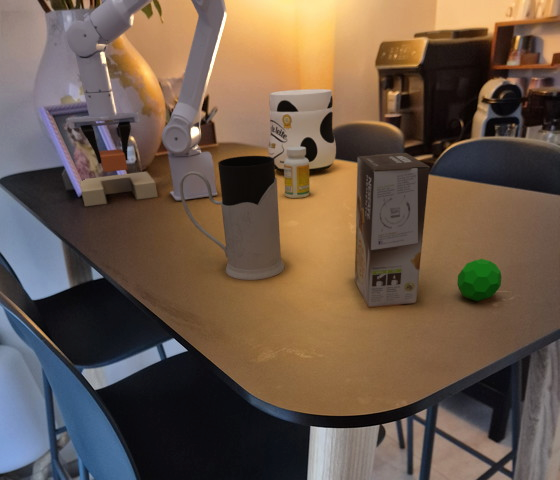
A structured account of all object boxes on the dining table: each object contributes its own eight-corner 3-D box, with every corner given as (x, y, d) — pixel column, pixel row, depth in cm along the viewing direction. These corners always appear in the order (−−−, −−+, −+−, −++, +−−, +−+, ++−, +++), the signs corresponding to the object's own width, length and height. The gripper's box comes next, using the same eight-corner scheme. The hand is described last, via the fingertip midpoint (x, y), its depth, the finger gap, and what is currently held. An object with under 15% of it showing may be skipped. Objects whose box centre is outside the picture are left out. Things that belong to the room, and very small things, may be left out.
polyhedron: (504, 305, 62) (512, 267, 59) (464, 308, 61) (470, 270, 59) (487, 288, 66) (493, 252, 63) (449, 291, 66) (454, 255, 63)
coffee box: (418, 303, 63) (432, 165, 54) (367, 308, 63) (373, 170, 54) (397, 276, 71) (407, 151, 62) (352, 279, 71) (355, 155, 62)
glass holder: (278, 280, 72) (272, 167, 64) (182, 278, 74) (164, 169, 66) (288, 258, 79) (284, 154, 71) (200, 257, 81) (186, 156, 73)
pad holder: (149, 185, 128) (146, 171, 127) (157, 196, 117) (155, 182, 115) (82, 193, 124) (79, 179, 122) (85, 206, 113) (81, 191, 111)
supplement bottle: (282, 198, 110) (280, 150, 105) (287, 192, 114) (285, 146, 109) (307, 198, 109) (306, 150, 104) (311, 192, 113) (310, 145, 108)
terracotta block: (124, 163, 119) (121, 148, 117) (127, 169, 112) (124, 154, 111) (101, 166, 117) (98, 151, 116) (104, 172, 111) (100, 156, 109)
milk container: (256, 174, 132) (250, 95, 123) (293, 161, 144) (290, 88, 134) (313, 180, 124) (312, 95, 114) (347, 166, 135) (349, 88, 126)
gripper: (61, 95, 102) (79, 168, 109) (135, 90, 106) (148, 160, 113) (61, 93, 107) (78, 162, 115) (131, 88, 111) (143, 155, 118)
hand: (112, 161), depth 114 cm, fingers closed on terracotta block, 5 cm apart
